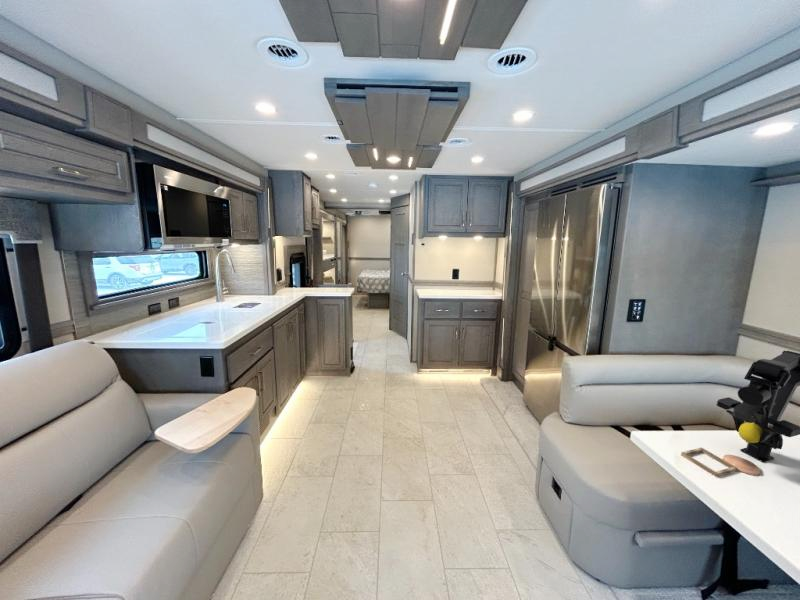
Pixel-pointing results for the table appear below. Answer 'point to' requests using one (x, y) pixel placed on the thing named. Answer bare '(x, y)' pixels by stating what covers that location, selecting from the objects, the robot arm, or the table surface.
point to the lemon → (750, 432)
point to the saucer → (742, 464)
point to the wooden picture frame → (698, 450)
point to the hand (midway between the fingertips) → (749, 437)
